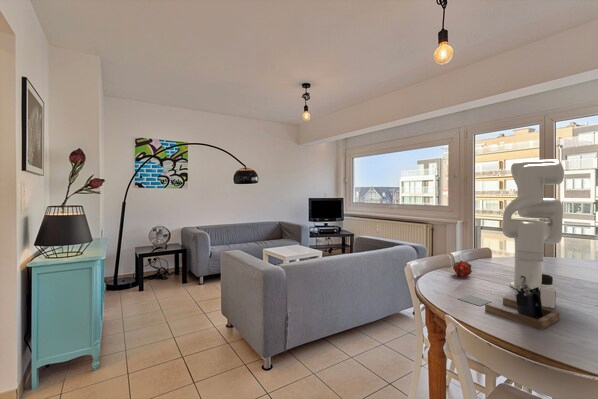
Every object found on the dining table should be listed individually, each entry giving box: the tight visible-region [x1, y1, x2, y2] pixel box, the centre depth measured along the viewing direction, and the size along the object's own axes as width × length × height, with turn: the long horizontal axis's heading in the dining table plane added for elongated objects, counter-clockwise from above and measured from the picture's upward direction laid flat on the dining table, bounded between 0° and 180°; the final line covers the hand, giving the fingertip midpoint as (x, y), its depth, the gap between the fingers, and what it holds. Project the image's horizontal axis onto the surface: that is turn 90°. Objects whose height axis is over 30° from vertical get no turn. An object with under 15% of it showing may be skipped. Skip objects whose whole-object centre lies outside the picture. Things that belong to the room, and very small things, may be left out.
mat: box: [457, 294, 492, 307], centre depth 123 cm, size 9×9×1 cm
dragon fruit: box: [453, 260, 473, 278], centre depth 158 cm, size 8×8×12 cm
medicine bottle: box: [540, 273, 557, 309], centre depth 119 cm, size 7×7×12 cm
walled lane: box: [484, 296, 561, 330], centre depth 108 cm, size 15×18×2 cm
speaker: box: [515, 289, 544, 319], centre depth 106 cm, size 8×6×10 cm
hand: (528, 303), depth 106 cm, fingers open, 9 cm apart
